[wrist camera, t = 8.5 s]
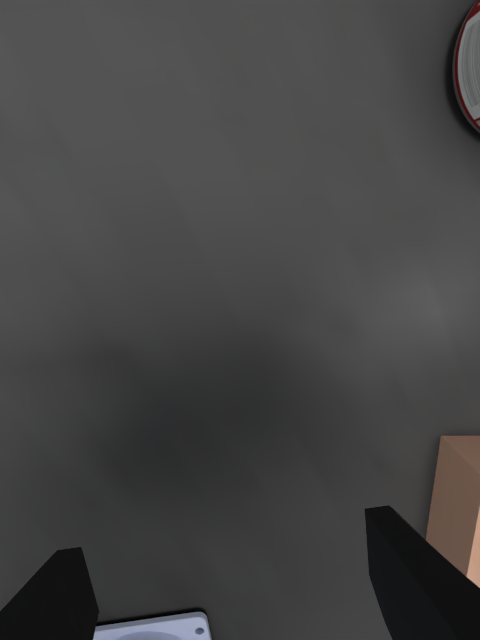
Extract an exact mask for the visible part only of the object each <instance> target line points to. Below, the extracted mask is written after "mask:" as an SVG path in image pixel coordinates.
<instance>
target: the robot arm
mask: <svg viewBox="0 0 480 640" xmlns="http://www.w3.org/2000/svg"><path fill="white" fill-rule="evenodd" d="M365 519H366V534H367V549H368V563H369V576H370V579H371V582H372V585H373V588H374V591H375V594H376V597H377V600H378V603H379V606H380V609H381V612H382V615H383V618H384V621H385V623H386V625H387V628H388V630H389V632H390V635H391V637H392V639H393V640H480V588H479V587H478V586H477V585H476V584H475V583H473V582H472V581H471V580H470V579H469V578H467V577H466V576H465V575H464V574H463V573H462V572H461V571H459V570H458V569H457V568H456V567H455V566H454V565H453V564H451V563H450V562H449V561H448V560H447V559H446V558H445V557H443V556H442V555H441V554H440V553H439V552H438V551H437V550H436V549H435V548H434V547H433V546H431V545H430V544H429V543H428V542H427V541H426V540H425V539H424V538H423V537H422V536H421V535H420V534H419V533H418V532H417V531H415V530H414V529H413V528H412V527H411V526H410V525H409V524H408V523H407V522H406V521H405V520H404V519H403V518H402V517H401V516H400V515H399V514H398V513H397V512H396V511H395V510H394V509H393V508H391V507H390V506H382V507H375V508H367V509H365ZM98 614H99V609H98V606H97V602H96V598H95V595H94V591H93V588H92V584H91V580H90V577H89V573H88V569H87V566H86V562H85V558H84V555H83V551H82V548H81V547H78V548H71V549H64V550H57V551H56V552H55V553H54V554H53V555H52V556H51V558H50V559H49V560H48V561H47V562H46V563H45V564H44V565H43V566H42V567H41V568H40V569H39V570H38V571H37V572H36V574H35V575H34V576H33V577H32V578H31V579H30V580H29V581H28V582H27V583H26V584H25V585H24V587H23V588H22V589H21V590H20V591H19V592H18V593H17V594H16V595H15V596H14V597H13V598H12V600H11V601H10V602H9V603H8V604H7V605H6V606H5V607H4V608H3V609H2V610H1V611H0V640H212V638H211V633H210V629H209V624H208V619H207V616H206V614H204V613H203V612H192V613H185V614H178V615H171V616H164V617H157V618H150V619H144V620H137V621H130V622H123V623H116V624H109V625H102V626H96V624H97V619H98Z"/></svg>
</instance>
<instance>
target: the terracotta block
mask: <svg viewBox="0 0 480 640" xmlns="http://www.w3.org/2000/svg"><path fill="white" fill-rule="evenodd" d="M426 541H427V542H428V543H429V544H430V545H431V546H433V547H434V548H435V549H436V550H437V551H438V552H439V553H440V554H441V555H442V556H443V557H445V558H446V559H447V560H448V561H449V562H450V563H451V564H453V565H454V566H455V567H456V568H457V569H458V570H459V571H461V572H462V573H463V574H464V575H465V576H466V577H467V578H469V579H470V580H471V581H472V582H473V583H475V584H476V585H477V586H478V587H479V588H480V436H441V440H440V446H439V453H438V460H437V467H436V473H435V480H434V487H433V493H432V500H431V507H430V514H429V520H428V527H427V534H426Z"/></svg>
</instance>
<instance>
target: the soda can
mask: <svg viewBox="0 0 480 640" xmlns="http://www.w3.org/2000/svg"><path fill="white" fill-rule="evenodd" d="M452 77H453V86H454V91H455V95H456V98H457V101H458V104H459V106H460V109H461V111H462V112H463V114H464V116H465V118H466V119H467V121H468V122H469V123H470V124H471V125H472V127H473V128H474V129H475V130H476V131H477V132H479V133H480V0H477V1H476V2H475V3H474V5H473V6H472V8H471V9H470V11H469V13H468V14H467V16H466V18H465V20H464V22H463V24H462V27H461V29H460V32H459V34H458V37H457V41H456V45H455V49H454V55H453V64H452Z"/></svg>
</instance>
